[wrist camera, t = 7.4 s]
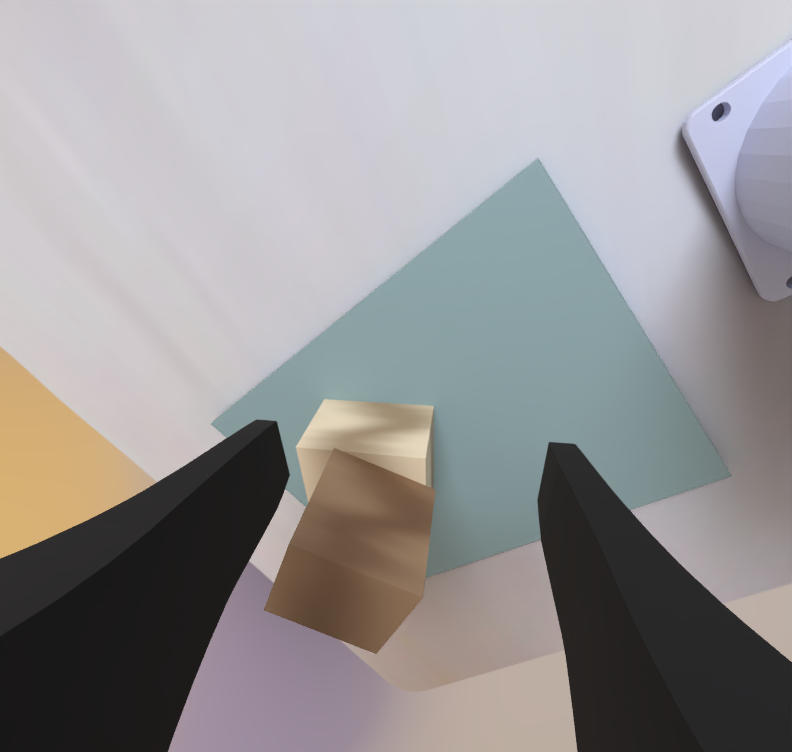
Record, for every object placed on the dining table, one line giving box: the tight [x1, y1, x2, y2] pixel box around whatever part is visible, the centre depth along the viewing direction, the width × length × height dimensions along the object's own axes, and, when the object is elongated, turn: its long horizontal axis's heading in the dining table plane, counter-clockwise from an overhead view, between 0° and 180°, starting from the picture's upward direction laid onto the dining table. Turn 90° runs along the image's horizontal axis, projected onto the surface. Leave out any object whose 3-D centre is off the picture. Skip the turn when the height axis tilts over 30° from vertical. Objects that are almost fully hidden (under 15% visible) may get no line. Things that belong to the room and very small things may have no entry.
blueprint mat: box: [211, 158, 732, 578], centre depth 22 cm, size 22×18×1 cm
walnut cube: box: [264, 448, 435, 654], centre depth 17 cm, size 5×5×5 cm
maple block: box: [296, 399, 434, 502], centre depth 21 cm, size 6×6×4 cm
